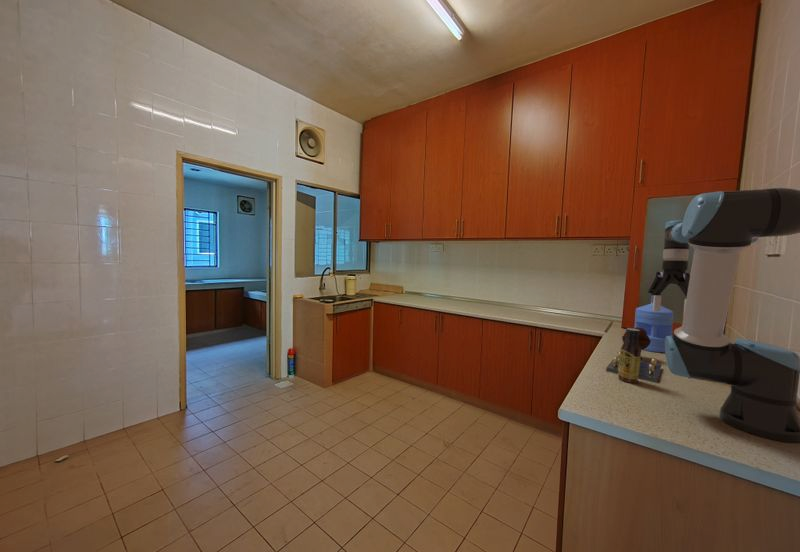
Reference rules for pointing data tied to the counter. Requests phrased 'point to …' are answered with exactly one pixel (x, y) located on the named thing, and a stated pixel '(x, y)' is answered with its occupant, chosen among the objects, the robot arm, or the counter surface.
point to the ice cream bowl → (641, 338)
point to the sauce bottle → (630, 357)
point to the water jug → (655, 325)
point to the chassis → (645, 371)
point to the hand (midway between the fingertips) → (671, 313)
